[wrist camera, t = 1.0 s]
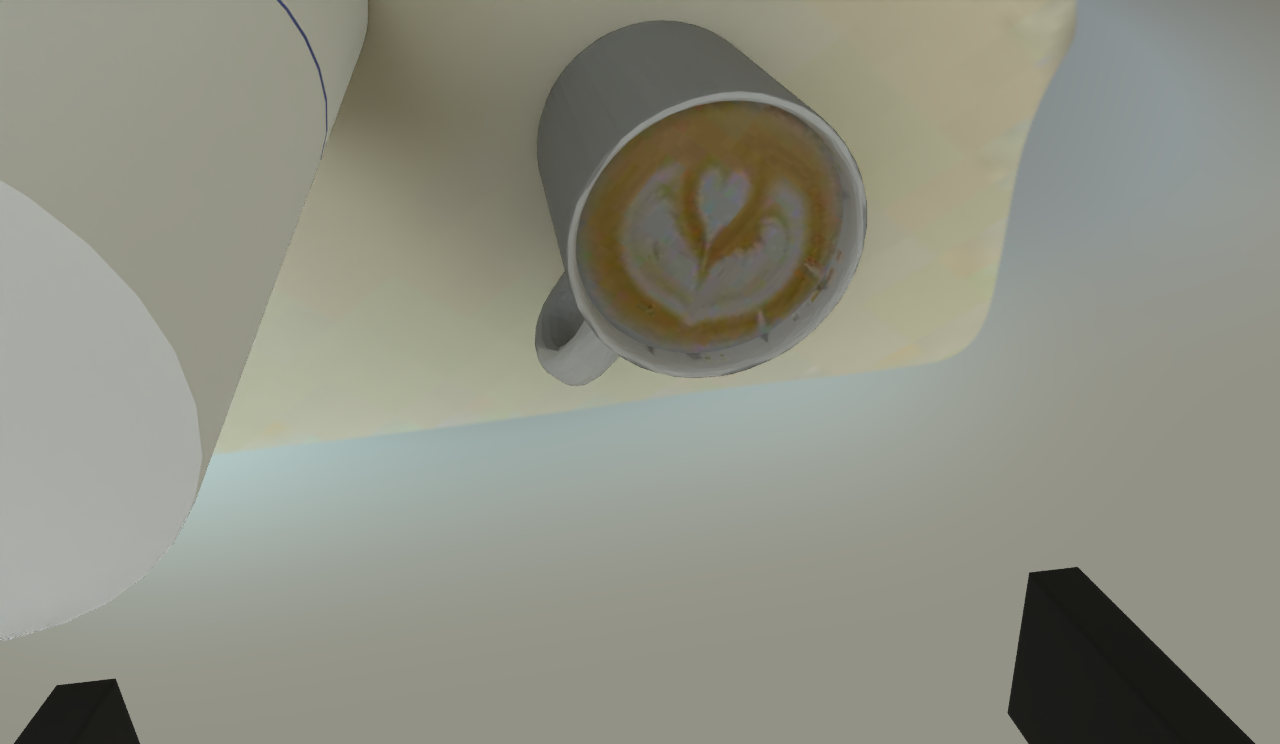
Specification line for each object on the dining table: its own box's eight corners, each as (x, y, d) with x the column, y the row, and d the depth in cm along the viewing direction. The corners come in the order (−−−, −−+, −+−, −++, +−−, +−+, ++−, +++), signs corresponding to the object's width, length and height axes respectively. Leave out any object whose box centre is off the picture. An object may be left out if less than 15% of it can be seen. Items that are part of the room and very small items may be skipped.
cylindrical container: (409, 34, 31) (335, 469, 10) (253, 137, 32) (-101, 724, 11) (269, -168, 27) (-315, -123, 6) (95, -44, 28) (-915, 353, 7)
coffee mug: (677, -39, 31) (759, 14, 23) (813, 153, 36) (920, 252, 28) (424, 196, 34) (417, 317, 26) (583, 342, 39) (619, 480, 31)
